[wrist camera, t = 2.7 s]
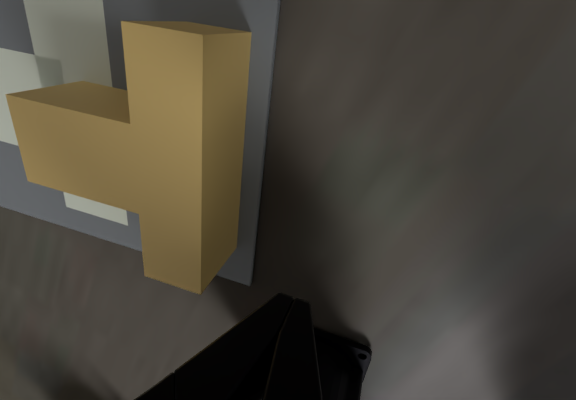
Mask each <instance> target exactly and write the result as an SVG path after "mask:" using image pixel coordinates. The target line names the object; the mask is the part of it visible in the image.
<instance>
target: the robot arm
mask: <svg viewBox="0 0 576 400" xmlns="http://www.w3.org/2000/svg"><path fill="white" fill-rule="evenodd" d="M361 353H363V354H361ZM371 355H372V351H371V349H370V348H369V347H368V346H366V345H363V344H360V343H357V342H354V341H351V340H348V339H345V338H342V337H339V336H336V335H333V334H330V333H327V332H324V331H321V330H318V329H315V328H313V321H312V313H311V305H310V303H309V302H308V301H304V300H301V299H298V298H295V299H294V298H293V297H292V296H289V295H286V294H283V293H278V294H277V295H275V296H274V297H273V298H271V299H270V300H269V301H267V302H266V303H265V304H263V305H262V306H261V307H259V308H258V309H257V310H255V311H254V312H252V313H251V314H250V315H248V316H247V317H246V318H244V319H243V320H242V321H240V322H239V323H238V324H236V325H235V326H234V327H232V328H231V329H230V330H228V331H227V332H226V333H224V334H223V335H222V336H220V337H219V338H218V339H216V340H215V341H214V342H212V343H211V344H210V345H208V346H207V347H206V348H204V349H203V350H201V351H200V352H199V353H197V354H196V355H195V356H193V357H192V358H191V359H189V360H188V361H187V362H185V363H184V364H183V365H181V366H180V367H179V368H177V369H176V370H175V372H174V373H170V374H169V375H168V376H166V377H165V378H164V379H162V380H161V381H160V382H158V383H157V384H156V385H154V386H153V387H151V388H150V389H148V390H147V391H146V392H144V393H143V394H141V395H140V396H139V397H137V398H136V399H134V400H360V396H361V388H362V382H363V380H364V377H365V374H366V372H367V369H368V366H369V364H370V361H371Z"/></svg>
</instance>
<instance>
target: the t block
mask: <svg viewBox="0 0 576 400" xmlns="http://www.w3.org/2000/svg"><path fill="white" fill-rule="evenodd" d="M121 28H122V38H123V49H124V60H125V71H126V81H127V90H123V89H118V88H114V87H109V86H104V85H100V84H95V83H90V82H86V81H78V82H72V83H67V84H61V85H55V86H50V87H44V88H38V89H33V90H27V91H21V92H16V93H10V94H5V95H6V99H7V103H8V107H9V111H10V115H11V118H12V122H13V126H14V130H15V134H16V138H17V142H18V145H19V149H20V153H21V157H22V161H23V165H24V169H25V172H26V176H27V180H28V181H29V182H32V183H36V184H39V185H42V186H46V187H49V188H52V189H56V190H59V191H63V192H66V193H69V194H73V195H76V196H79V197H83V198H86V199H90V200H93V201H96V202H100V203H103V204H106V205H110V206H113V207H117V208H120V209H123V210H127V211H130V212H133V213H137V214H139V221H140V232H141V242H142V253H143V264H144V275H145V276H146V277H149V278H152V279H155V280H158V281H161V282H164V283H167V284H170V285H173V286H176V287H179V288H182V289H185V290H188V291H191V292H194V293H197V294H200V295H201V294H202V292H203V291H204V290H205V288H206V287H207V286H208V284H209V283H210V282H211V281H212V279H213V278H214V277H215V275H216V274H217V273H218V271H219V270H220V269H221V267H222V266H223V265H224V263H225V262H226V261H227V260H228V258H229V257H230V256H231V254H232V253H233V252H234V250H235V249H236V248H237V235H238V221H239V207H240V192H241V178H242V163H243V149H244V134H245V120H246V105H247V91H248V77H249V62H250V48H251V33H252V32H247V31H241V30H235V29H229V28H223V27H217V26H211V25H205V24H199V23H192V22H186V21H121Z"/></svg>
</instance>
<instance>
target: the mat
mask: <svg viewBox="0 0 576 400" xmlns="http://www.w3.org/2000/svg"><path fill="white" fill-rule="evenodd" d="M279 10H280V0H0V206H1V207H4V208H7V209H11V210H14V211H17V212H20V213H23V214H26V215H29V216H32V217H36V218H39V219H42V220H45V221H48V222H51V223H54V224H57V225H61V226H64V227H67V228H70V229H73V230H76V231H79V232H82V233H86V234H89V235H92V236H95V237H98V238H101V239H104V240H107V241H111V242H114V243H117V244H120V245H123V246H126V247H129V248H132V249H135V250H139V251H142V242H141V232H140V221H139V214H137V213H133V212H130V211H127V210H123V209H120V208H117V207H113V206H110V205H106V204H103V203H100V202H96V201H93V200H90V199H86V198H83V197H79V196H76V195H73V194H69V193H66V192H63V191H59V190H56V189H52V188H49V187H46V186H42V185H39V184H36V183H32V182H29V181H28V180H27V176H26V172H25V169H24V165H23V161H22V157H21V153H20V149H19V145H18V142H17V138H16V134H15V130H14V126H13V122H12V118H11V115H10V111H9V107H8V103H7V99H6V95H5V94H10V93H16V92H21V91H27V90H33V89H38V88H44V87H50V86H55V85H61V84H67V83H72V82H78V81H86V82H90V83H95V84H100V85H104V86H109V87H114V88H118V89H123V90H127V81H126V71H125V60H124V49H123V38H122V28H121V21H186V22H192V23H199V24H205V25H211V26H217V27H223V28H229V29H235V30H241V31H247V32H252V33H251V48H250V62H249V77H248V91H247V105H246V120H245V134H244V149H243V163H242V178H241V192H240V207H239V221H238V235H237V248H236V249H235V250H234V252H233V253H232V254H231V256H230V257H229V258H228V260H227V261H226V262H225V263H224V265H223V266H222V267H221V269H220V270H219V271H218V273H217V274H216V275H217V276H220V277H223V278H226V279H229V280H232V281H235V282H238V283H242V284H245V285H248V286H250V285H251V283H252V276H253V266H254V256H255V247H256V237H257V227H258V217H259V207H260V197H261V187H262V178H263V168H264V158H265V148H266V138H267V128H268V118H269V109H270V99H271V89H272V79H273V69H274V59H275V49H276V40H277V30H278V20H279Z"/></svg>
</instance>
